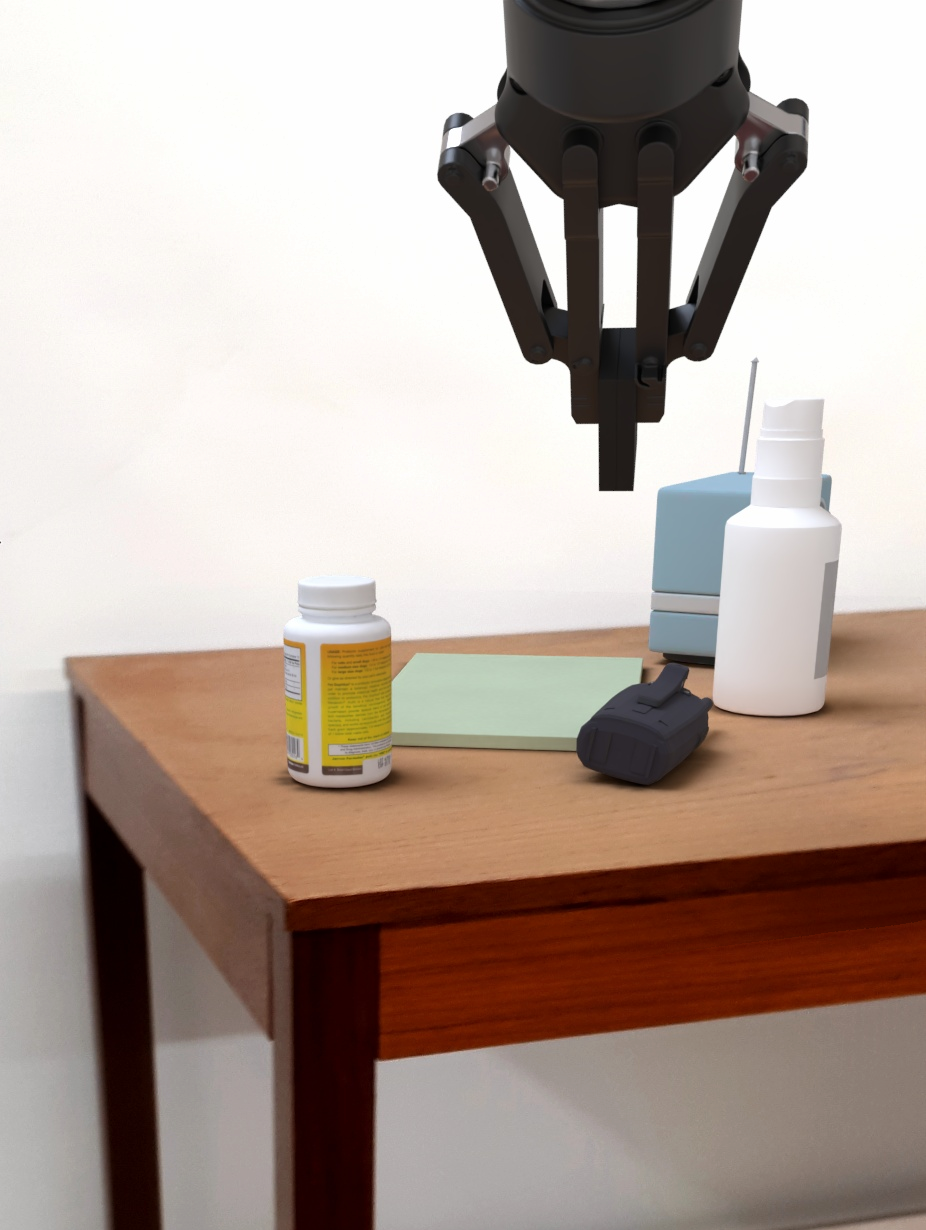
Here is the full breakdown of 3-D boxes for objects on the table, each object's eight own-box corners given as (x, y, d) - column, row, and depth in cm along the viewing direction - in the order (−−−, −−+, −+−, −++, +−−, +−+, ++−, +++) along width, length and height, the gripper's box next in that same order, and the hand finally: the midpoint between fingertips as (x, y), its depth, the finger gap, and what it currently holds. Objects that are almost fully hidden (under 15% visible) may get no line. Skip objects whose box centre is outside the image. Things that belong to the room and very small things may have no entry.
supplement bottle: (411, 773, 89) (412, 576, 85) (355, 796, 85) (354, 590, 81) (324, 761, 92) (321, 570, 88) (266, 782, 88) (260, 582, 84)
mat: (642, 669, 117) (643, 657, 116) (630, 753, 93) (631, 738, 93) (416, 664, 119) (416, 652, 119) (348, 744, 96) (348, 730, 96)
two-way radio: (664, 796, 85) (728, 733, 98) (686, 713, 83) (749, 659, 96) (562, 767, 87) (639, 708, 100) (582, 684, 85) (657, 635, 97)
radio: (770, 674, 114) (798, 359, 106) (645, 664, 118) (663, 359, 111) (831, 639, 127) (860, 356, 119) (716, 631, 131) (737, 356, 123)
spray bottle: (847, 708, 104) (879, 398, 97) (772, 722, 100) (801, 401, 93) (762, 691, 109) (788, 396, 102) (688, 704, 105) (709, 398, 98)
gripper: (398, 28, 51) (460, 535, 72) (841, 6, 48) (769, 537, 70) (424, -136, 54) (476, 400, 75) (844, -165, 51) (774, 397, 73)
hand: (618, 465), depth 73 cm, fingers closed
